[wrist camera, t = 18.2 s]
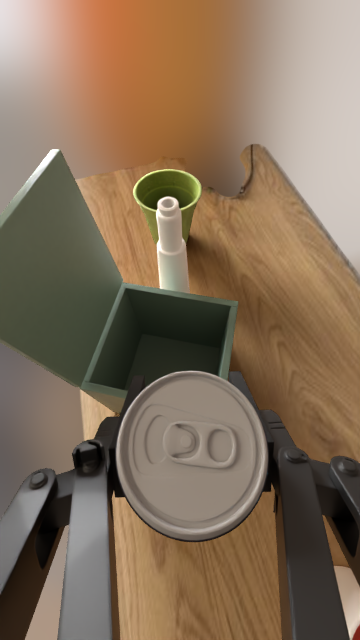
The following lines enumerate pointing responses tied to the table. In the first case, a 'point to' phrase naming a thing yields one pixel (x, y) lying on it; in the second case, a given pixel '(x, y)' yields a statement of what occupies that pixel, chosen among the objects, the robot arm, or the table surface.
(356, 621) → the cup
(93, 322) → the lid
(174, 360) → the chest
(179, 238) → the cosmetic bottle
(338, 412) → the table surface
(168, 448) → the beverage can
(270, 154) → the table surface
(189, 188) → the plant pot
